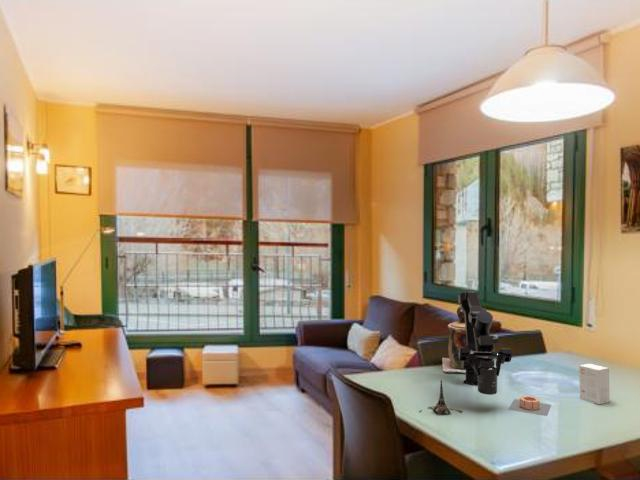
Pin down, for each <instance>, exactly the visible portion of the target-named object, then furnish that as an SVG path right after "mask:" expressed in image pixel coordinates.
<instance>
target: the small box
mask: <svg viewBox="0 0 640 480" xmlns="http://www.w3.org/2000/svg"><path fill="white" fill-rule="evenodd" d="M578 366H579V399H582V400H585V401H588V402H590V403H594V404H597V405H603V404H607V403H610V399H611V398H610V368H609V367H607V366H606V367H605V366H601V365H597V364H593V363H585V364H581V365H580V364H579V365H578Z"/></svg>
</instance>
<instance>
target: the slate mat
mask: <svg viewBox="0 0 640 480" xmlns="http://www.w3.org/2000/svg"><path fill="white" fill-rule="evenodd" d="M551 407H552V404H549V403H541V402H540V409H539V410H527V409H523V408H521V407H520V399H517V398H514V399H513V400H512V402H511V404H510V406H509V407H508V409H507V410H509V411H515V412H521V413H526V414H531V415H538V416H544V417H548V415H549V412H550V409H551Z"/></svg>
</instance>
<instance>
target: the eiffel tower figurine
mask: <svg viewBox="0 0 640 480" xmlns="http://www.w3.org/2000/svg"><path fill="white" fill-rule="evenodd" d="M439 390H440V391H439V397H438V402H437V403H436V404H435V405H433V406H428V407H427V410H431V412H433V413H434V414H435V415H437V416H438V417H443V416H450V415H451V416H452V415H453V414H452V413H451V411H456V412H458V413H460V414H463V412H464V410H458V409H453V408H449V407H448V405H447V404H446V401H445V398H444V391H443V390H444V389H443V380H442V379H440V387H439ZM421 412H423V409H421V410H419V411H418V413H421Z"/></svg>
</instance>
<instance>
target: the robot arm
mask: <svg viewBox="0 0 640 480" xmlns="http://www.w3.org/2000/svg"><path fill="white" fill-rule="evenodd" d="M457 302H458V305H459V307H460V308H461V310H462V311H463V313H464V315H465V328H466V341H467V347H461V348H460V349H459V360H460V361H462V362H461V363H462V368H463V369H466V373H465V380H463V384H468V385H476V386H478V375H479V370H478V367H479V366H481V364H480V362H481V359H482V358H484V357H488V358H496V359H495V367H496V369H497V377H499V376H500V370H501V367H502V365H503V364H505V363H510V362H511V360H512V357H513V356H514V355H513V354H514V353H513V351H512V349H511V348H510V347H508V348H507V347H506V348H502V347H500V348H499V351H493V350H494V348H495V347H494V346H495V345H499V343H500V341H499V340H500V338H499V335H498V334H492V335H490V330H491V327H492V323H493V319H494V317H493V315H492V313H490V312H489V311H487V310H488V309H486V307H483V306H482V304H481V302H480V294H479V293H478V290H472V289H471V290H469V289H468V290H465V291H464V292H461V293H459V295H458V301H457ZM465 364H466V365H465Z"/></svg>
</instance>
